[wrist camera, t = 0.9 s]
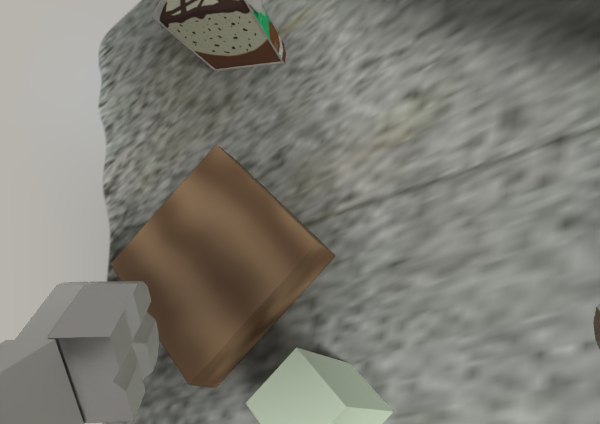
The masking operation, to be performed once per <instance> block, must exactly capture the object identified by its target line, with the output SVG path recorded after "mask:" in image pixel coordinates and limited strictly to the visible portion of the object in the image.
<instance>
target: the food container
mask: <svg viewBox="0 0 600 424" xmlns="http://www.w3.org/2000/svg"><path fill="white" fill-rule="evenodd" d="M153 18H154V19H155V23H156V24H157V25H158V27H159V28H160V29H161V30H163V28H165V29H166V30H167V31H168V32H169V33H171V34H172V35H173V36H174V37H175V38H176V39H178V40H179V41H180V42H181V43H182V44H183V45H185V46H186V47H187V48H188V49H189V50H190V51H192V52H193V53H194V54H195V55H196V56H197V57H199V58H200V59H201V60H202V61H203V62H204V63H206V64H207V65H208V66H209V67H210V68H211V69H213V70H214V71H215V72H216V71H224V70H233V69H241V68H249V67H258V66H266V65H274V64H283V63H285V56H286V53H285V48H284V43H283V42H282V40H281V38H280V36H279V35H278V33H277V31H276V29H275V28H274V26H273V24H272V23H271V21H270V19H269V17H268V16H267V14H266V12H265V10H264V9H263V7H262V5H261V0H161V1H160V2H159V4H158V6H157V8H156V10H155V12H154V14H153Z"/></svg>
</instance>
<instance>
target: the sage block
mask: <svg viewBox="0 0 600 424" xmlns="http://www.w3.org/2000/svg"><path fill="white" fill-rule="evenodd" d="M246 404H247V406H248V407H249V409H250V410H251V411H252V413H253V414H254V416H255V417H256V418H257V420H258V421H259V423H260V424H382V423H383V422H384V421H385V420H386V419H387V418H388V417H389V416H390V415H391V413H392V412H393V411H392V409H391V408H390V407H389V406H388V405H387V404H386V403H385V402H384V401H383V399H382V398H381V397H380V396H379V395H378V394H377V393H376V392H375V391H374V389H373V388H372V387H371V386H370V385H369V384H368V383H367V382H366V381H365V379H364V378H363V377H362V376H361V375H360V374H359V373H358V372H357V371H356V370H355V368H354V367H353V366H352V365H351V364H350V363H347V362H344V361H340V360H337V359H334V358H330V357H327V356H323V355H320V354H317V353H313V352H310V351H307V350H303V349H300V348H295V350H294V351H293V352H292V353H291V354H290V355H289V356H288V357H287V358H286V359H285V361H284V362H283V363H282V364H281V365H280V366H279V367H278V368H277V369H276V370H275V372H274V373H273V374H272V375H271V376H270V377H269V378H268V379H267V380H266V381H265V382H264V384H263V385H262V386H261V387H260V388H259V389H258V390H257V391H256V392H255V393H254V395H253V396H252V397H251V398H250V399H249V400H248V401H247V402H246Z"/></svg>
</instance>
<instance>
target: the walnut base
mask: <svg viewBox="0 0 600 424" xmlns="http://www.w3.org/2000/svg"><path fill="white" fill-rule="evenodd" d="M334 257H335V255H334V254H333V253H332V252H331V251H330V250H329V249H328V248H327V247H326V246H325V245H324V244H323V243H322V242H321V241H320V240H319V239H318V238H317V237H316V236H315V235H313V234H312V233H311V232H310V231H309V230H308V229H307V228H306V227H305V226H304V225H303V224H302V223H301V222H300V221H299V220H298V219H297V218H296V217H295V216H294V215H293V214H292V213H291V212H290V211H289V210H288V209H286V208H285V207H284V206H283V205H282V204H281V203H280V202H279V201H278V200H277V199H276V198H275V197H274V196H273V195H272V194H271V193H270V192H269V191H268V190H267V189H266V188H265V187H264V186H263V185H262V184H260V183H259V182H258V181H257V180H256V179H255V178H254V177H253V176H252V175H251V174H250V173H249V172H248V171H247V170H246V169H245V168H244V167H243V166H242V165H241V164H240V163H239V162H238V161H236V160H235V159H234V158H233V157H231V156H230V155H229V154H228V153H226V152H225V151H224V150H223V149H221V148H220V147H219V146H218V145H215V146H214V148H213V149H212V150H211V151H210V152H209V153H208V154H207V155H206V157H205V158H204V159H203V160H202V161H201V162H200V163H199V165H198V166H197V167H196V168H195V169H194V170H193V171H192V172H191V174H190V175H189V176H188V177H187V178H186V179H185V180H184V181H183V183H182V184H181V185H180V186H179V187H178V188H177V189H176V190H175V192H174V193H173V194H172V195H171V196H170V197H169V198H168V200H167V201H166V202H165V203H164V204H163V205H162V206H161V207H160V209H159V210H158V211H157V212H156V213H155V214H154V215H153V216H152V218H151V219H150V220H149V221H148V222H147V223H146V224H145V225H144V227H143V228H142V229H141V230H140V231H139V232H138V233H137V235H136V236H135V237H134V238H133V239H132V240H131V241H130V242H129V244H128V245H127V246H126V247H125V248H124V249H123V250H122V251H121V253H120V254H119V255H118V256H117V257H116V258H115V259H114V260H113V262H112V263H111V266H112V267H113V269H114V271H115V272H116V274H117V275H118V277H119V278H120V280H121V281H143V282H144V283H145V284H146V285H147V286H148V290H149V294H150V297H151V303H150V305H149V307H148V309H147V313H148V314H149V315H151V316H152V317H153V318H154V319H155V320H156V323H157V327H158V333H159V339H160V341H161V342H162V344H163V346H164V347H165V349H166V350H167V352H168V353H169V355H170V356H171V358H172V359H173V361H174V362H175V364H176V365H177V367H178V368H179V370H180V372H181V373H182V375H183V376H184V378H185V379H186V381H187V382H188V384H189V385H196V386H205V387H213V388H216V387H217V386H218V385H219V384H220V383H221V382H222V381H223V380H224V379H225V377H226V376H227V375H228V374H229V373H230V372H231V371H232V370H233V369H234V368H235V366H236V365H237V364H238V363H239V362H240V361H241V360H242V359H243V358H244V356H245V355H246V354H247V353H248V352H249V351H250V350H251V349H252V348H253V347H254V345H255V344H256V343H257V342H258V341H259V340H260V339H261V338H262V337H263V336H264V334H265V333H266V332H267V331H268V330H269V329H270V328H271V327H272V326H273V325H274V323H275V322H276V321H277V320H278V319H279V318H280V317H281V316H282V315H283V314H284V312H285V311H286V310H287V309H288V308H289V307H290V306H291V305H292V304H293V302H294V301H295V300H296V299H297V298H298V297H299V296H300V295H301V294H302V293H303V291H304V290H305V289H306V288H307V287H308V286H309V285H310V284H311V283H312V282H313V280H314V279H315V278H316V277H317V276H318V275H319V274H320V273H321V272H322V271H323V269H324V268H325V267H326V266H327V265H328V264H329V263H330V262H331V261H332V259H333V258H334Z"/></svg>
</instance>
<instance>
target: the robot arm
mask: <svg viewBox="0 0 600 424" xmlns="http://www.w3.org/2000/svg"><path fill="white" fill-rule="evenodd" d="M150 303H151V297H150V294H149V290H148V286H147V285H146V284H145V283H144V282H143V281H117V282H70V283H62V284H59V285H57V286H56V287H55V288H54V290H53V291H52V292H51V293H50V295H49V296H48V297H47V299H46V300H45V301H44V303H43V304H42V305H41V307H40V308H39V309H38V310H37V312H36V313H35V314H34V316H33V317H32V318H31V320H30V321H29V322H28V324H27V325H26V326H25V327H24V329H23V330H22V331H21V333H20V334H19V335H18V337H17V338H16V339H15V340H6V341H4V342H2V343H1V344H0V424H84V423H98V422H120V421H134V420H135V417H136V414H137V412H138V409H139V407H140V404H141V401H142V399H143V396H144V394H145V391H146V390H145V386H144V382H143V379H144V378H146V377H147V376H148V375H149V374H151V373H152V372H153V370H154V367H155V364H156V362H157V357H158V349H159V333H158V327H157V323H156V320H155V319H154V318H153V317H152V316H151V315H149V314H148V313H147V309H148V307H149V305H150ZM594 331H595V339H596V341H597V344H598V346H599V349H600V304H599V305H598V306H597V307H596V312H595V317H594Z"/></svg>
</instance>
